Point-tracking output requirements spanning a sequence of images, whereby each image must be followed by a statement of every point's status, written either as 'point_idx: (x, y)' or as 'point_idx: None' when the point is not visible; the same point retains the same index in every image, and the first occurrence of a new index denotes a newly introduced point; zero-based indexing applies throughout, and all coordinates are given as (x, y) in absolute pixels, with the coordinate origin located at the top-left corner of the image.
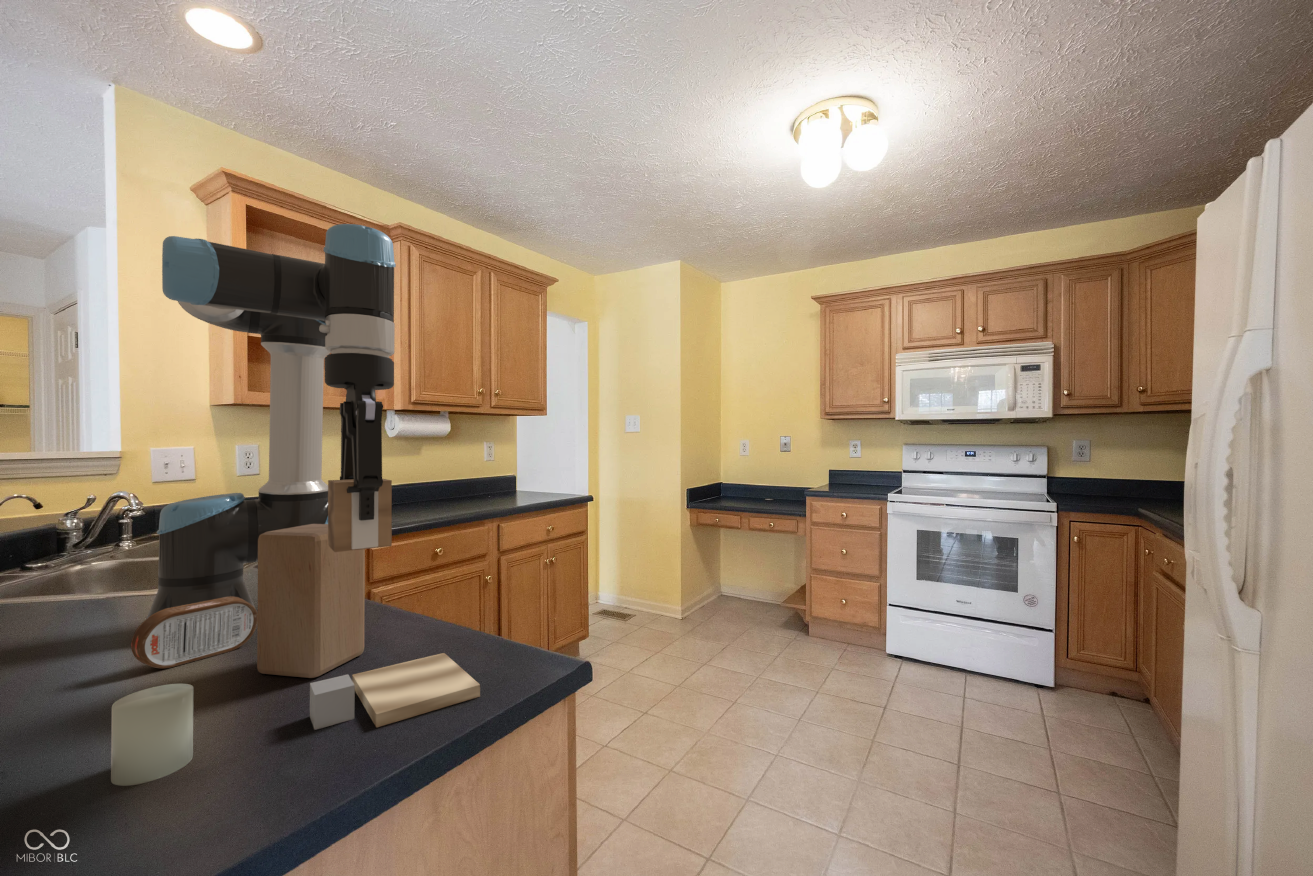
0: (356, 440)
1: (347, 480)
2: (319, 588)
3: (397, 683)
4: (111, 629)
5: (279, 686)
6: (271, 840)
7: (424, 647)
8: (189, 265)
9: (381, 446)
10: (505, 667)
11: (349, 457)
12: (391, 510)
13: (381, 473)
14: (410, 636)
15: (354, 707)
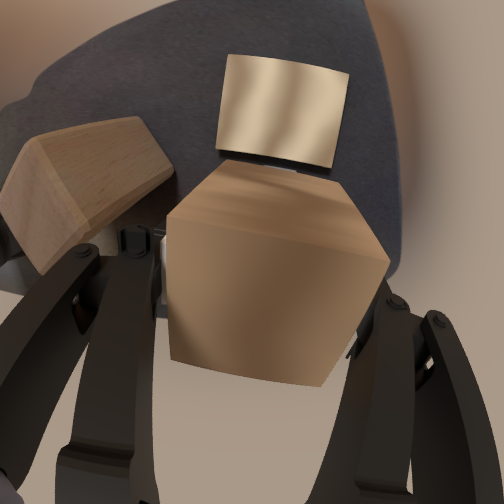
0: (414, 478)
1: (232, 344)
2: (129, 194)
3: (277, 124)
4: (11, 260)
5: (169, 196)
6: (397, 257)
7: (165, 58)
8: None
9: (487, 416)
10: (297, 20)
11: (150, 392)
12: (359, 212)
13: (457, 342)
14: (121, 64)
15: (295, 172)
